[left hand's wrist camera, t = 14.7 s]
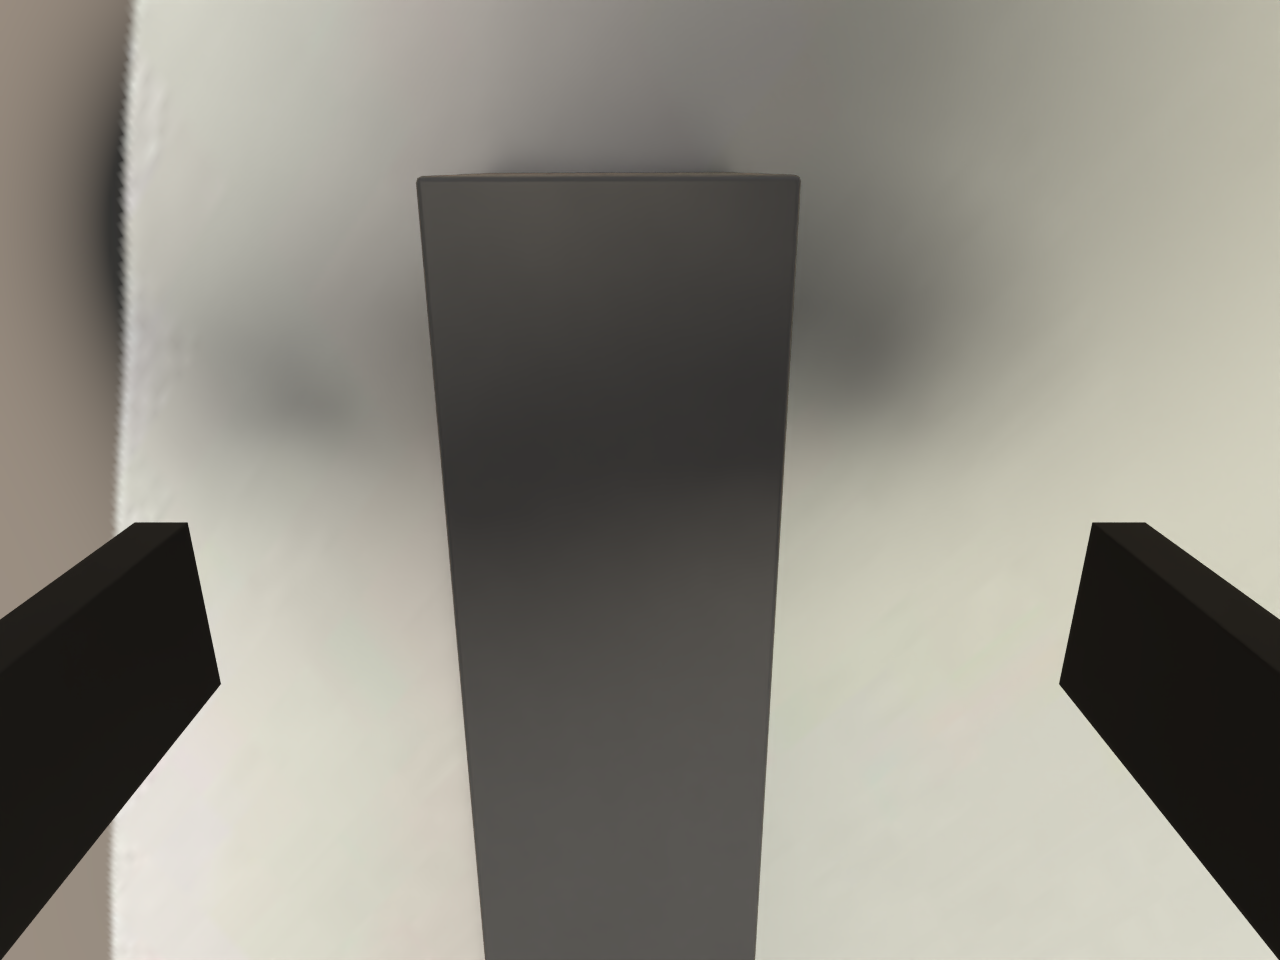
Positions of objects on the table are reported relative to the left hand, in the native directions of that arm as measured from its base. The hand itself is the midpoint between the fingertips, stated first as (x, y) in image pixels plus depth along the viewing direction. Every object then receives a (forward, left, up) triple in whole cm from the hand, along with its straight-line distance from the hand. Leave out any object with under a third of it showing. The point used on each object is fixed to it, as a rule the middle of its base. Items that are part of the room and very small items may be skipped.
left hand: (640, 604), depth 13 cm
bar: (+31, +6, -9) cm, 33 cm away
